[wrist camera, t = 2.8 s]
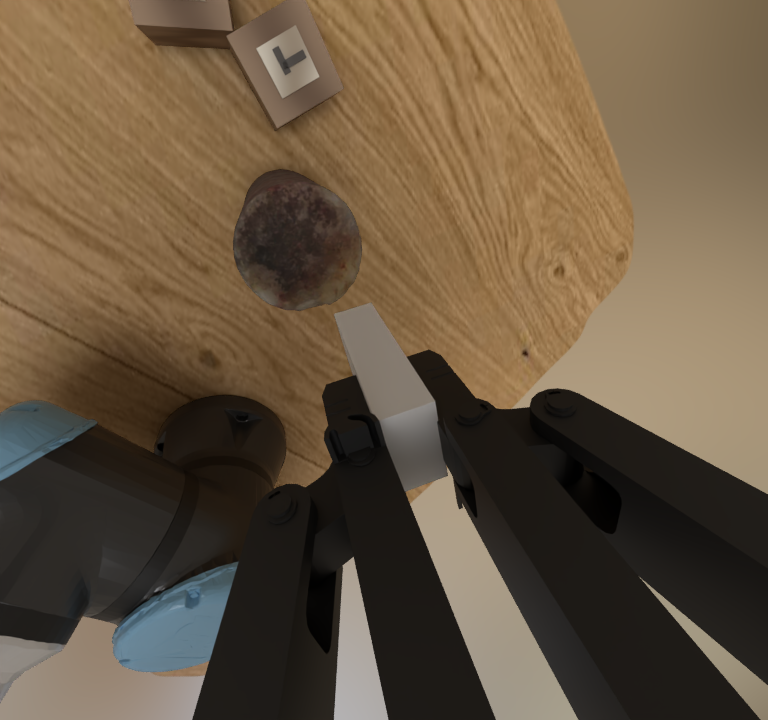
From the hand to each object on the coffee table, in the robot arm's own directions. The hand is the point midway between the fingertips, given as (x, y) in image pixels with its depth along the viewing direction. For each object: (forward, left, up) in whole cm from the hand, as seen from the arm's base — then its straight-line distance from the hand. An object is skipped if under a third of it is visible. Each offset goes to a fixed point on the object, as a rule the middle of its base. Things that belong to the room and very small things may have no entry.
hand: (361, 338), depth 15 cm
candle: (-1, +2, -28) cm, 28 cm away
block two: (+3, +11, -28) cm, 30 cm away
